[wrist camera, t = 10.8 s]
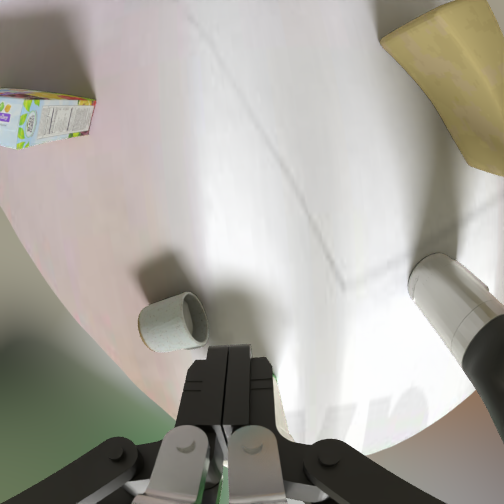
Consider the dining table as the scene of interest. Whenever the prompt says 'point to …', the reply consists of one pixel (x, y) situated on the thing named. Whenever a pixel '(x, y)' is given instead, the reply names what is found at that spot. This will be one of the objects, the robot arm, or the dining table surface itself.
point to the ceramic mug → (174, 324)
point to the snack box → (41, 117)
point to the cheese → (459, 74)
